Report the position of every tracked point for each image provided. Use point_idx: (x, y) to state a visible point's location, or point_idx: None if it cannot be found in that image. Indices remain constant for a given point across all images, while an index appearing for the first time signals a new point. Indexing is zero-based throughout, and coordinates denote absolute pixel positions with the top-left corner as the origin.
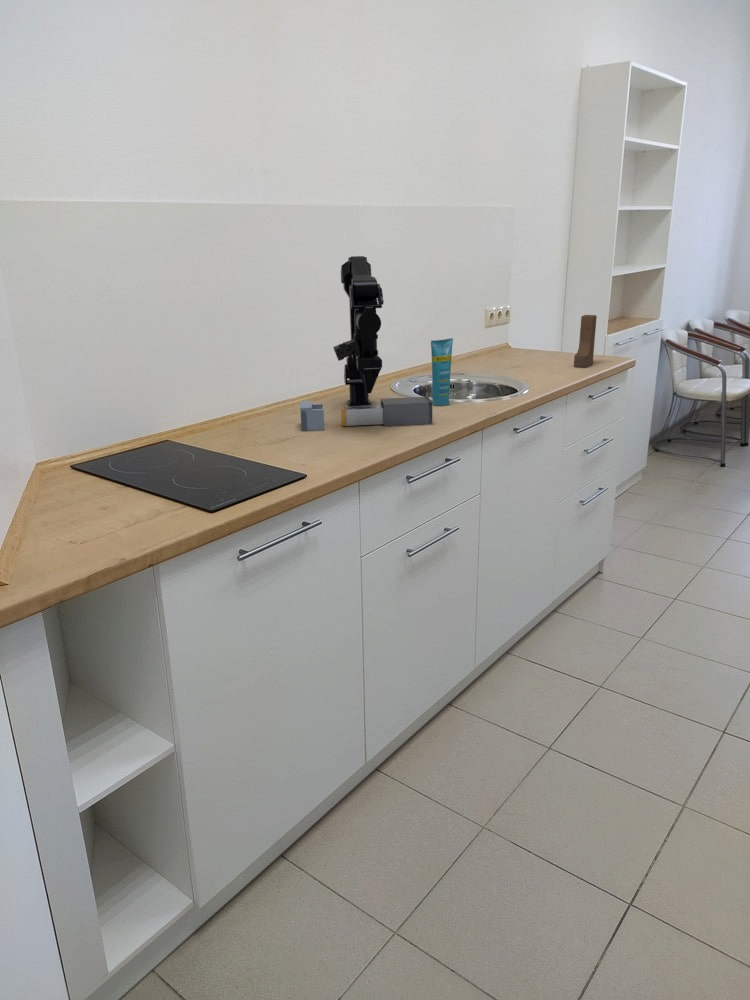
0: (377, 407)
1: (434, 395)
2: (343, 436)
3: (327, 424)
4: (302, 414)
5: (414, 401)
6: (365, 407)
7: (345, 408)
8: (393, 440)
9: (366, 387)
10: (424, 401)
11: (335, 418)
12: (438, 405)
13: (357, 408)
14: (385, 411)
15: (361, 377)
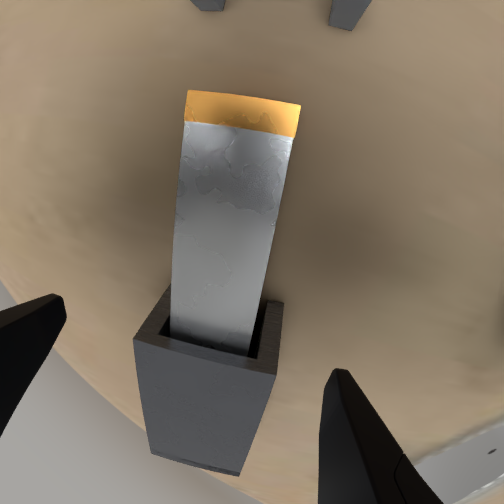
0: (188, 312)
1: None
2: (79, 85)
3: (307, 39)
4: None
5: (171, 435)
6: (208, 255)
7: (219, 121)
8: (25, 243)
9: (12, 309)
10: (164, 448)
11: (415, 118)
12: None
13: (196, 201)
14: (148, 321)
15: (373, 422)
